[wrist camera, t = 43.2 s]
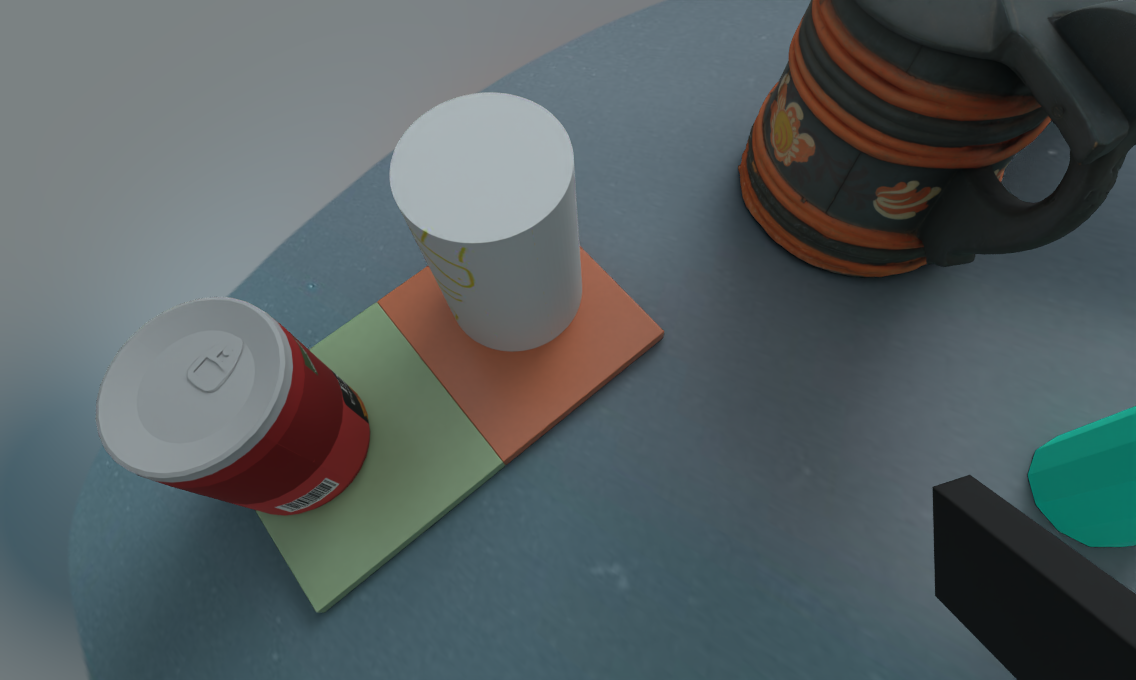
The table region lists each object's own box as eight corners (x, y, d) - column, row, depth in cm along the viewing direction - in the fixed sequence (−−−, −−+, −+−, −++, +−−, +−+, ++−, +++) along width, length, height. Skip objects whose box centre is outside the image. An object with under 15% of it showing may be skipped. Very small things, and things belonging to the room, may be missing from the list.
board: (324, 613, 33) (316, 613, 32) (212, 428, 38) (202, 423, 37) (663, 338, 38) (664, 331, 37) (530, 202, 43) (529, 193, 42)
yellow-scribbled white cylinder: (438, 252, 40) (376, 118, 29) (561, 219, 41) (546, 74, 30) (465, 367, 37) (407, 265, 26) (598, 330, 38) (596, 213, 27)
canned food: (397, 401, 37) (318, 321, 26) (334, 539, 34) (219, 508, 24) (281, 363, 38) (165, 273, 28) (211, 492, 35) (53, 444, 25)
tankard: (1058, 300, 38) (1486, 11, 20) (833, 377, 37) (1062, 146, 18) (896, 75, 45) (1096, -291, 27) (703, 133, 44) (775, -207, 26)
